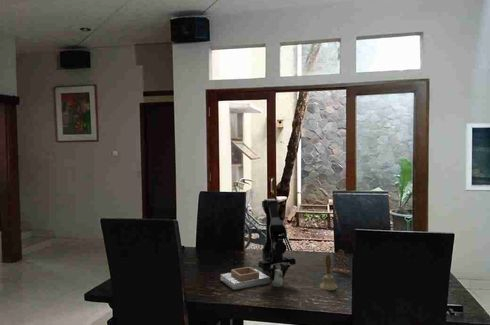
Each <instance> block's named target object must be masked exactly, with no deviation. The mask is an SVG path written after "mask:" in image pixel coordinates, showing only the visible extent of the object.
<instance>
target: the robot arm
mask: <svg viewBox="0 0 490 325" xmlns="http://www.w3.org/2000/svg"><path fill="white" fill-rule="evenodd" d="M261 207H262V210H263V212H264V213H265V240H264V242H263V243H262V246H263V247H262V248H261V259H262V260H259V261H258V263H257V266H258V268H260V269H262V270H265V271H268V274H269V277H270V280H271V281H274V273H275V270H276V269H278V267H277V266H276V265H280V270H282V275H283V277H282V280H283V279H284V278H285V275H286V273H287V272H288V271H289V270H288V269H289V268H290V267H291V266H293V265H296V264H297V260H296V259H295V257H292V256H285V257H284V254H285V253H286V251H287V248H288V247H287V244H286V243H285V242H284V240H285V239H287V236H288V234H287V233H288V232H287V228H286V225H284V222H283V220H282V219H280V215H279V211H278V208H279V200H276V198H264V199H263V200H262V201H261Z"/></svg>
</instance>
